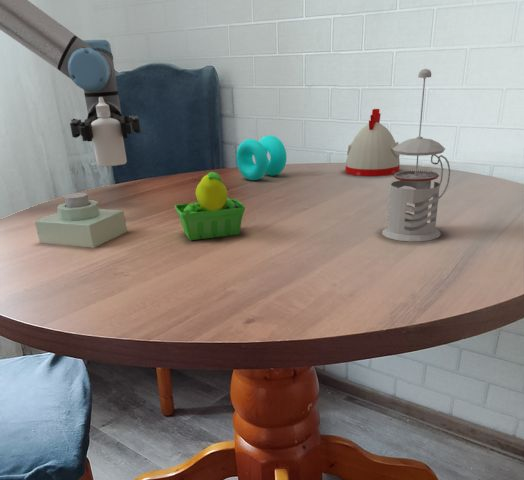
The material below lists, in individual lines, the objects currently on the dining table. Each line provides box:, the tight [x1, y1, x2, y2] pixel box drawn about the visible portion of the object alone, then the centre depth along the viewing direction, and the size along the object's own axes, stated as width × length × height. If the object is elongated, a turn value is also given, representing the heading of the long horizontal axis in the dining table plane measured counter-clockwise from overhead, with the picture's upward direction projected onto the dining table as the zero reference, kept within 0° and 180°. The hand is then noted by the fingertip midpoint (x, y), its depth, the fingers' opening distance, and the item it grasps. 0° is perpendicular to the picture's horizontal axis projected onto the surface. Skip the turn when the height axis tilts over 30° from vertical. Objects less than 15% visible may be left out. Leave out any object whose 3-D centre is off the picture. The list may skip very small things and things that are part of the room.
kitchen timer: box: [344, 108, 401, 177], centre depth 139 cm, size 14×14×15 cm
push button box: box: [34, 199, 128, 249], centre depth 98 cm, size 12×10×6 cm
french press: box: [381, 68, 451, 242], centre depth 87 cm, size 10×12×25 cm
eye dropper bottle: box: [90, 97, 128, 168], centre depth 102 cm, size 4×6×12 cm
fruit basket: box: [174, 171, 246, 241], centre depth 94 cm, size 11×9×11 cm
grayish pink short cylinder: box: [63, 192, 90, 208], centre depth 96 cm, size 4×4×2 cm
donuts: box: [235, 134, 287, 181], centre depth 139 cm, size 10×10×10 cm
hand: (106, 132), depth 98 cm, fingers closed on eye dropper bottle, 6 cm apart
